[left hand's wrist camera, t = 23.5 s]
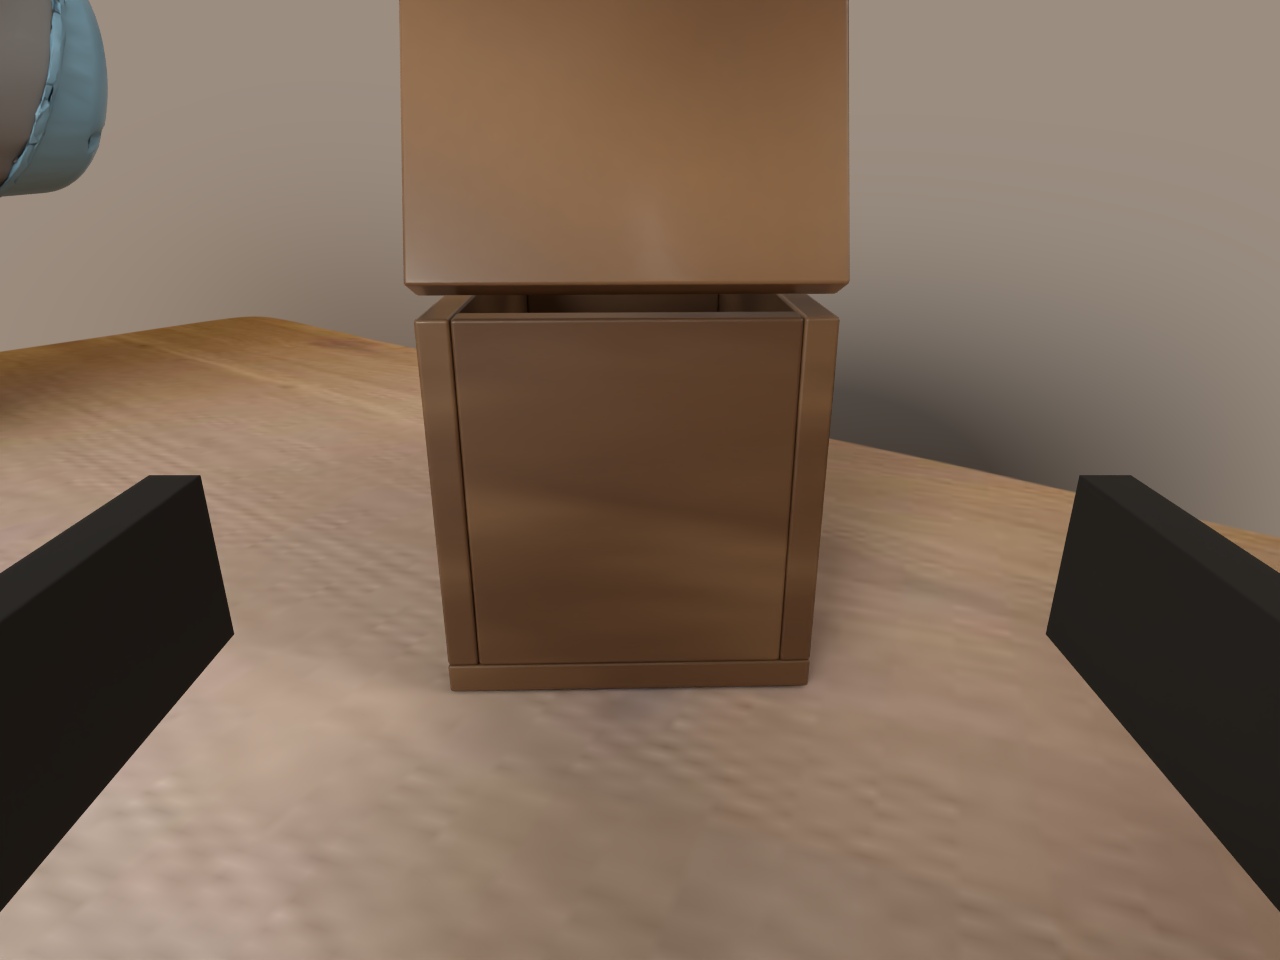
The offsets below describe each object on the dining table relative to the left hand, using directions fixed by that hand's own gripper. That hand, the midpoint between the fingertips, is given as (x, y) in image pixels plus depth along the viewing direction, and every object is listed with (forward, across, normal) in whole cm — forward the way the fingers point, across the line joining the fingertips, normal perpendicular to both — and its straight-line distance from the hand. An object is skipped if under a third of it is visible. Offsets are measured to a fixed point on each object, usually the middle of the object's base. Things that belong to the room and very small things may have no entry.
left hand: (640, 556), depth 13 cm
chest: (+14, 0, -7) cm, 16 cm away
